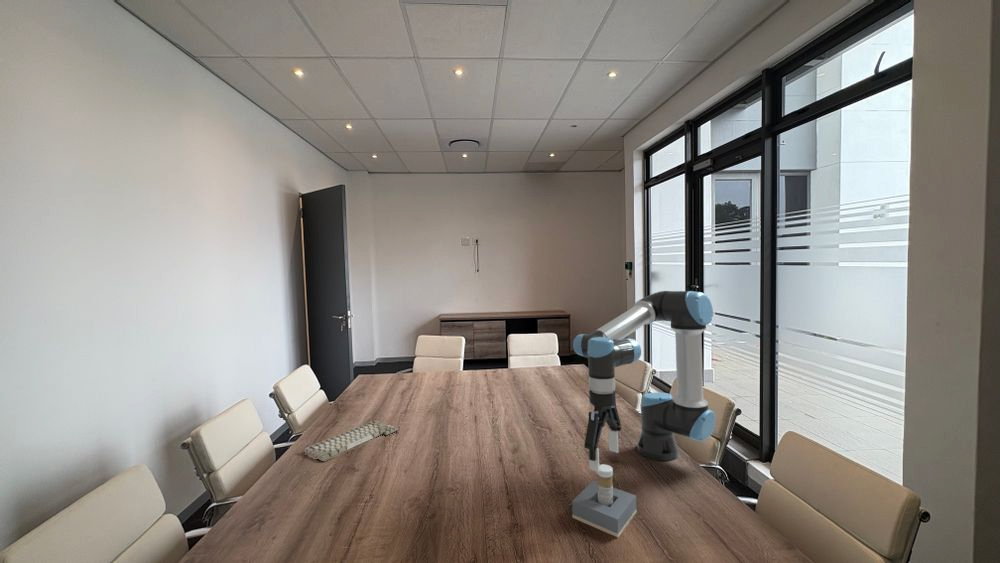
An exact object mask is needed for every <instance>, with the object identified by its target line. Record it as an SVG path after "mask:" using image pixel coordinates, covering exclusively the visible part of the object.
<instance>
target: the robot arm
mask: <svg viewBox="0 0 1000 563" xmlns="http://www.w3.org/2000/svg"><path fill="white" fill-rule="evenodd" d="M713 310H714V309H713V304H712V301H711V300H710V298H709V297H708V295H706V294H705V293H703V292H701V291H693V290H689V291H687V290H683V291H682V290H678V291H677V290H661V291H657V292H653V293H651V294H649V295H647V296H645V297H643V298H641V299H639V300H638V301H636V302H634V304H633V306H632V308H630V309H628V310H626V311H625V312H623V313H622V314H620V315H619V316H616V317H615V318H614V319H612V320H610V321H609V322H607V323H606V324H604V325H602V326H600V327H599V328H597V329H596V330H594V331H593V332H591V333H589V334H586V333H580V334H577V335H576V337H575V338H574V339H573V343H572V346H573V351H574V353H575V354H577V355H578V356H581V357H584V358H587V361H588V362H587V364H588V366H587V367H588V378H587V379H588V384H589V391H588V392H589V395H588V396H589V403H590V404H591V405H592V406H593V412H592V411H589V412H588V423H587V428H586V434H585V439H584V440H585V441H584V445H583V446H584V449H588V462H589V463H588V464H589V465H588V466H589V470H591V471H593V472H596V473H597V472H599V465H600V451H599V450H600V449H599V448H598V446H599V442H600V437H601V435H602V434H601V433H602V429H603V428H604V427H605V426H606V424H607V426H608V428H609V429H608V451H610V452H612V453H613V452H614V453H616V454H619V435H618V434H619V433H618V432H621V430H622V427H621V426H622V424H621V423H622V422H621V420H620V419H621V418H620V416H619V412H618V409H617V401H616V397H617V396H616V391H615V390H616V376H615V375H616V373H615V368H617V367H621V366H624V365H625V366H626V365H630V364H633V363H634V362H637V361H638V360H639V359H640V358H641V356H642V348H641V345H640V344H639V342H638V341H637V340H636V339H634V338H627V337H628V336H629V335H631V334H633V333H634V332H635V331H637V330H638V329H640V328H641V327H643V326H644V325H651V324H652V323H654V322H659V321H661V322H670V329H671V330H673V331H674V333H675V336H674V337H675V358H676V359H675V360H676V361H675V365H676V366H675V367H676V369H675V370H676V393H677V394H676V396H675V397H673V395H672V394H670V393H667V392H649V393H645V394H644V395H642V397H641V402H640V409H641V412H640V413H641V414H640V416H641V432H640V435H639V437H638V441H637V446H636V447H637V452H638V453H639V454H641V455H642V456H644V457H645V458H648V459H651V460H656V461H673V460H676V459H677V458H678V457H679V447H678V445H677V442H676V439H675V436H674V434H676V435H679V436H682V437H685V438H687V439H690V440H692V441H693V440H694V441H697V442H701V443H702V442H705V441H707V440H708V439H709V438H710V437H711V436H712V434H713V432H714V430H715V427H716V423H717V422H716V421H717V420H716V419H717V418H716V414H715V412H714V411H713V410H711V409H709V401H707V399H705V398H704V387H703V386H704V384H703V376H704V374H703V348H702V347H703V346H702V342H703V341H702V340H703V339H702V334H703V332H704V331H706V329H707V325H709V324H711V322H712V319H713V317H714V315H713V314H714V311H713Z"/></svg>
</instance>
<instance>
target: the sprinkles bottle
mask: <svg viewBox="0 0 1000 563" xmlns="http://www.w3.org/2000/svg"><path fill="white" fill-rule="evenodd" d="M613 470H614V468H613V467H612V466H610V465H608V464H605V463H603V464H599V472H596V475H597V482H598V503H600V504H603V505H606V506H608V507H611V506H612V504H613V488H614V487H613V486H614V485H613V475H614V471H613Z"/></svg>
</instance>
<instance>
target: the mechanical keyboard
mask: <svg viewBox="0 0 1000 563" xmlns="http://www.w3.org/2000/svg"><path fill="white" fill-rule="evenodd" d="M397 431H399V429H398V427H397V426H394V425H391V424H388V423H384V422H381V421H380V420H377V419H375V420H373V421H370V422H368V423H364V424H362V425H360V426H357V427H355V428H351V429H349V430H346V432H345V431H344V432H341V434H340V433H339V434H337V435H336V436H331V437H329V438H327V439H326V440H325V439H324V440H322V441H321V442H316V443H315V444H312V445H310V446H306V447H304V450H303V453H304V452H306V453H308V454H310V455H311V456H313V457H315V458H317V459H320V460H321V461H324V460H326V459H328V458H330V457H333V456H335V455H337V454H339V453H342V452H344V451H346V450H349V449H351V448H353V447H355V446H358V445H360V444H362V443H365V442H367V441H369V440H372V439H373V438H377V437H379V436H381V435H382V436H383V435H384V436H385V437H386V436H388V435H390V434H393V433H395V432H397ZM395 434H396V433H395ZM393 435H394V434H393ZM386 438H387V437H386ZM321 461H320V462H321Z"/></svg>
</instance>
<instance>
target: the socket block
mask: <svg viewBox="0 0 1000 563" xmlns="http://www.w3.org/2000/svg"><path fill="white" fill-rule="evenodd" d="M571 508H572V509H571V512H572V519H575V520H577V521H579V522H581V523H584V524H586V525H588V526H591V527H593V528H595V529H598V530H600V531H602V532H604V533H607V534H609V535H612V536H613V537H616V538H619V537H620V536H621V534H622V533H623V531H624V530H625V529H626V527H627V526H628V525H629V523H630V522H631V520H632V519H633V518H634V516H635V515H636V513H637V495H635V494H632V493H630V492H627V491H624V490H622V489H618V488H616V487H613V504H612V506H611V507H608V506H606V505H603V504H600V503H598V481H596V480H591V482H590V483H589V484H588V485H586V487H585V488H583V489H582V491H581V492H580V493H579V494H577V496H576V497H575V498H573V499H572V500H571Z"/></svg>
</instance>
